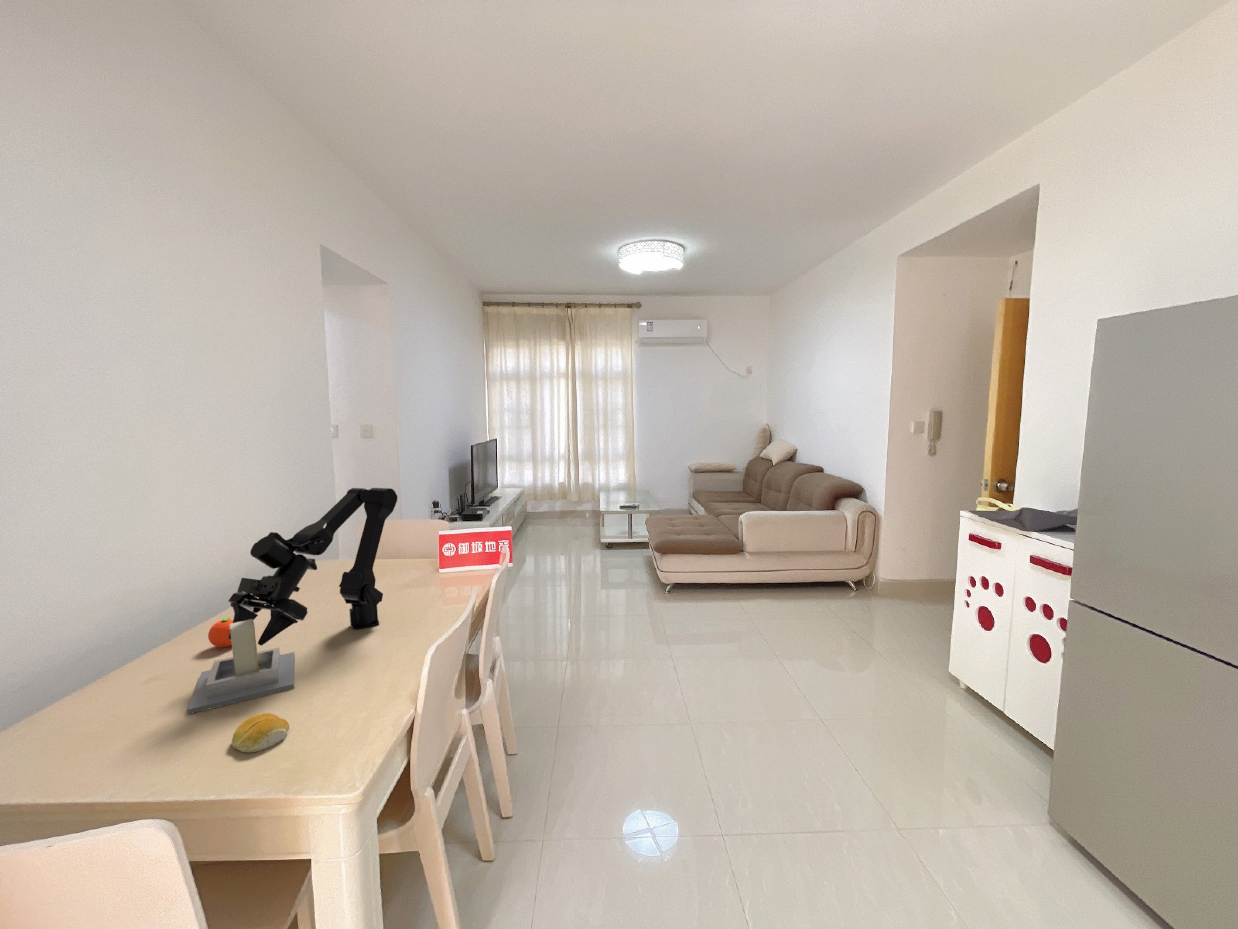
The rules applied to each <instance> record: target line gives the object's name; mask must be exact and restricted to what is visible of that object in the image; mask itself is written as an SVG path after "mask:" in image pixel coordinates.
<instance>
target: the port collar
mask: <svg viewBox="0 0 1238 929" xmlns="http://www.w3.org/2000/svg"><path fill="white" fill-rule="evenodd" d="M280 655H281V650H280V647H276V648H275V647H274V648H270V649H266V650H265V649H264V650H261V651H257V656H258V664H259V666H262V665H266V664H271V663H272V667H271V668H269V669H265V670H261V671H256V672H252V673H247V674H243V675H238V676H234V677H229V678H225V679H221V680H220V677H221V674H226V673H230V672H235V668H234V660H233V656H231V657H228V658H222V659H218V660H214V661H213V663H212V667H211V668H210V670H211V672H210V675H209V678H208V680H207V683H206V691H207V699H209V698H213V697H218V696H222V695H226V694H230V693H234V692H239V691H243V690H247V689H251V688H255V687H260V686H264V685H268V684H272V683H276V682H279V673H280Z"/></svg>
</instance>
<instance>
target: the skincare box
mask: <svg viewBox="0 0 1238 929" xmlns="http://www.w3.org/2000/svg"><path fill="white" fill-rule="evenodd" d="M230 634H231V643H232V645H231V650H232V651H231V652H232V657H233V660H234V668H235V676H238V675H243V674H247V673H252V672H256V671H259V664H258V656H257V652H258V650H257V649H258V648H257V640H256V639H257V638H256V628H255V623H254V620H253V619H249V620H245V621H241V622H236V623H231V624H230Z"/></svg>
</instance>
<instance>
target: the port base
mask: <svg viewBox="0 0 1238 929" xmlns="http://www.w3.org/2000/svg"><path fill="white" fill-rule="evenodd" d="M295 659H296V655H295V651H293V652H292V651H291V652H288V653H284V654H280V673H279V682H276V683H272V684H268V685H264V686H260V687H255V688H251V689H247V690H243V691H239V692H234V693H230V694H226V695H222V696H218V697H213V698H209V699H207V691H206V683H207V680H208V678H209V675H210V672H211V669H208V670H205V671H204V670H203V671H201V673H200V675H199V678H198V680H197V683H196V686H195V689H194V691H193V694H192V697H191V698H190V699H191V700H190V702H189V705H188V707H187V715H192V714H193V713H192V712H196V713H199V711H200V712H203V711H202V710H204V711H207V710H206V709H208V710H210V709H209V708H212V709H215V708H214V707H216V708H218V707H217V706H220V705H224V706H227V705H226V704H228V705H231V704H230V703H232V704H234V703H233V702H236V703H240V702H244V701H248V700H251V699H257V698H260V697H264V696H268V695H273V694H277V693H279V692H284V691H289V690H293V689H295V664H296V663H295V662H296V660H295ZM271 667H272V663H271V664H266V665H262V666H259V671H261V670H265V669H269V668H271ZM234 676H235V672H230V673H226V674H221V677H220V680H221V679H225V678H229V677H234ZM220 707H221V706H220ZM191 713H192V714H191Z"/></svg>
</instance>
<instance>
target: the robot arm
mask: <svg viewBox="0 0 1238 929" xmlns="http://www.w3.org/2000/svg"><path fill="white" fill-rule="evenodd" d="M397 502H398V494H397V493H396V491H395V490H394V489H393V488H390V487H389V488H387V487H371V488H370V489H366V488H363V487H361V488H360V487H352V488H350V489H348V490H347V491H346V494H345V495H344V496H343V497H342V498H340V499H339V501H337V503H335V504H334V505H333V506H332V507H331V508H330V509H329V510H328V511H327V512H326V513H325V514H324V515H323V516H322V517H321V518H320V519H319V520H317V521H315V522H314V523H312V524H309V525H306V526H305V527H304V528H302V529H300V530H299V531H297V532H296V533H295V534H294V535H293V536H292V537H291V538H288V539H285V538H284V537H283V536H282V535H281V534H280V533H278V532H274V531H270V532H269V533H268V535H267V536H264V537H262V538H260V539H259V540H258V541H257V542H255V543H254V544H253V545H252V547H251V549H250V552H249V553H250V556H251V557H253V558H254V559H255V560H257V561H259V562H260V563H263V564H264V565H265V566H267V567H268V568H269V569H272V570H273V569H274V570H275V569H276V571H275V572H274V573H273V575H267V576H266V575H263V576H262V577H261V579H256V578H247V577H246V578H245V577H241V578H240V579H241V580H240V583H239V585H238V588H237V591H236V592H234V593H233V594H232V595H231V597H230V598H229V599H228V602H229V603H230V607H231V608H232V610H233V612H234V616H233V619H232V620H233V623H236V622H241V621H245V620H249V619H253V621H254V620H255V619H256V618H257V617H258V616H259V615H258V613H259V612H261V611H262V610H269V612H270V619H269V621H268V622H267V624H266V626H265V628H264V630H263V631H262V633H261V635H260V637H259V639H258V641H257V645H258V646H263V645H265V644H266V643H268V642H269V641H270V640H272V639H273V638H274V637H276V636H277V635H278V634H280V633H282V632H283V631H285V630H286V629H288V628H289V627H291V626H292V625H293V624H297V623H299V622H298V621H302V622H303V621H305V618H306V616H307V615H308V607H306V606H305V605H303V604H302V603H300V602H299V601H297V600H295V599H294V598H293V599H292V598H291V596H292V594H293V593H294V592H295V593H298V592H299V591H300V589H301V588H300V587H299V586H298V585H299V583H300V582H301V580H302V579H303V577H305V576H304V575H305V574H306V573H307V571H308V570H311V571H318V566H317V563H316V559H315V558H308V557H306V556H305V555H308V556H320V555H323V554H324V553H325V552H326V551H327V549H328V548H329V546H330V545H331V544H332V543H333V541H334V536H335V534H336V532H337V531H338V530H339V529H340V527H342V525H343V524H345V523H346V521H347V520H348V519H350V518H351V516H352V515H354V514H355V513H356V511H357V510H358V509H359V508H360V507H361V506H362V505H363V508H364V512H365V516H366V519H365V522H364V525H363V529H362V534H361V537H360V541H359V544H358V547H357V548H358V549H357V553H356V556H355V558H354V559H355V560H354V563H353V566H352V567H351V568H350V570H349V571H344V572H343V573H342V574H341V579H340V583H339V585H338V587H339V588H340V589H339V594H340V596H341V597H342V599H343V600H344V602H345V604H347V605H351V608H349V609H348V610H349V623H350V626H352V628H353V630H358V629H363V628H368V627H373V626H378V625H380V621H379V616H378V605H379V603H381V602H382V601H383V597H384V593H383V592H381V591H380V590H379V589H377V588H376V587H375V586H376V580H377V579H376V577H375V574H374V570H373V569H374V565H375V560H376V557H377V552H378V550H379V549H378V548H379V545H380V542H381V538H382V533H383V530H384V526H385V522H386V520H387V519H388V517H389V516H390V515H391V514H393V512H394V511H395V510H394V509H395V506H396V505H397ZM228 638H229V639H231V634H229V637H228Z"/></svg>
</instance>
